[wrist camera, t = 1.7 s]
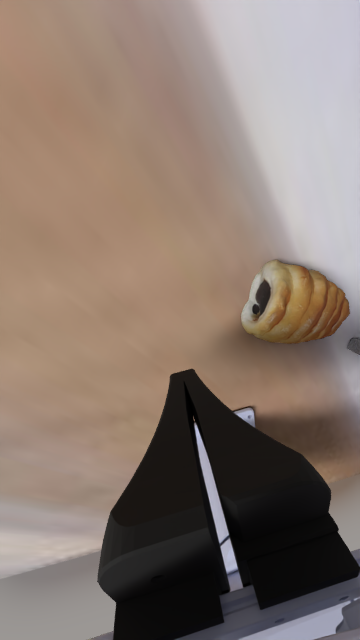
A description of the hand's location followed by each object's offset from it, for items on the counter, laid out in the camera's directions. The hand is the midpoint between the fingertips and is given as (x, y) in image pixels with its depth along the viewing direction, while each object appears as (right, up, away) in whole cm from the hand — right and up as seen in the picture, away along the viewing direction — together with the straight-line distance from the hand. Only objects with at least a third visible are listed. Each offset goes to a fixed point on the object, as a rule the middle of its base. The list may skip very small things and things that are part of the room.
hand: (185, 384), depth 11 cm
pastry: (+9, +6, +7) cm, 13 cm away
